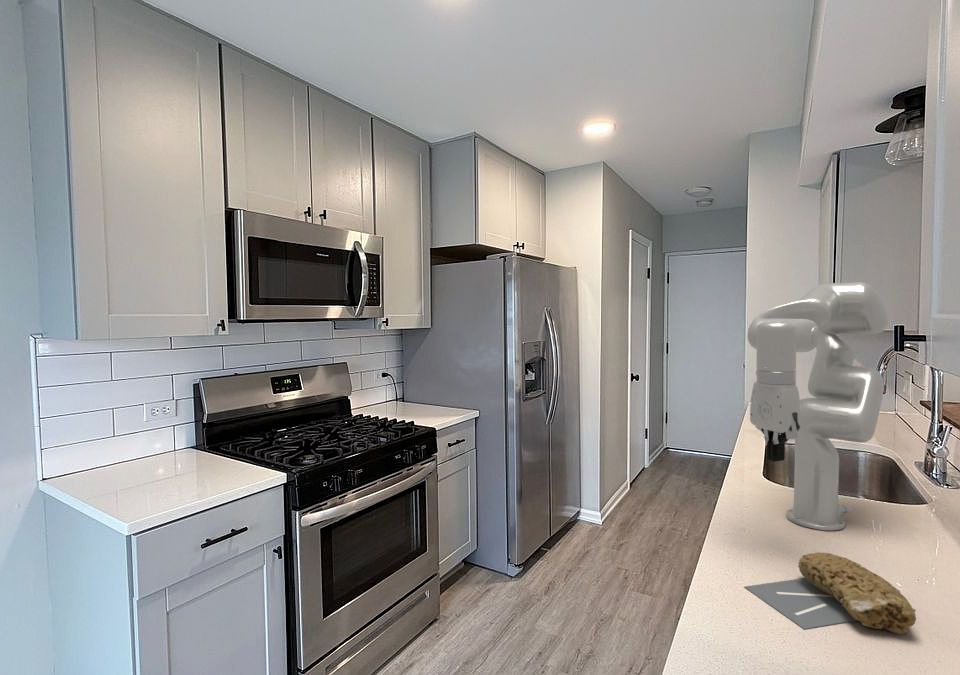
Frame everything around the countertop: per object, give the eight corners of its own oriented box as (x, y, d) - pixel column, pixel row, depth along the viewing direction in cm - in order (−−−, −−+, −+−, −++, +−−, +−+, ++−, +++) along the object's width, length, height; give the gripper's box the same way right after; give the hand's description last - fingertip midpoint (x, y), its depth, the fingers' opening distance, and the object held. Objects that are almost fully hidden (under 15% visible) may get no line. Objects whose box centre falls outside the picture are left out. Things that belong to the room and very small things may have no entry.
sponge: (925, 646, 85) (865, 565, 104) (923, 605, 83) (862, 530, 102) (835, 647, 88) (793, 568, 107) (831, 608, 87) (789, 535, 106)
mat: (844, 573, 107) (844, 572, 107) (915, 610, 93) (915, 609, 93) (744, 587, 101) (744, 586, 101) (804, 629, 88) (804, 628, 88)
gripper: (736, 374, 120) (737, 452, 121) (789, 384, 106) (788, 472, 107) (764, 372, 122) (764, 449, 123) (819, 381, 107) (818, 468, 109)
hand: (775, 459), depth 115 cm, fingers closed
